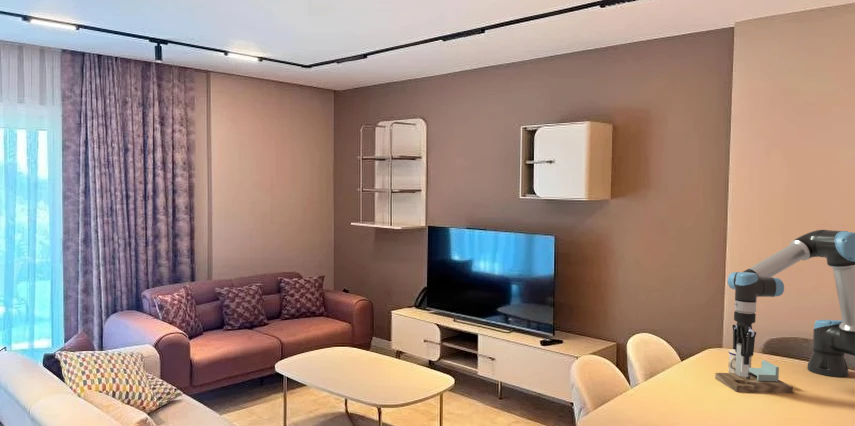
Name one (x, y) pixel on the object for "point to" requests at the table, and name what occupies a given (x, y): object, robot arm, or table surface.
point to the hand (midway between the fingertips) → (741, 370)
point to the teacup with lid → (734, 361)
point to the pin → (739, 360)
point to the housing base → (752, 384)
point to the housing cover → (766, 372)
